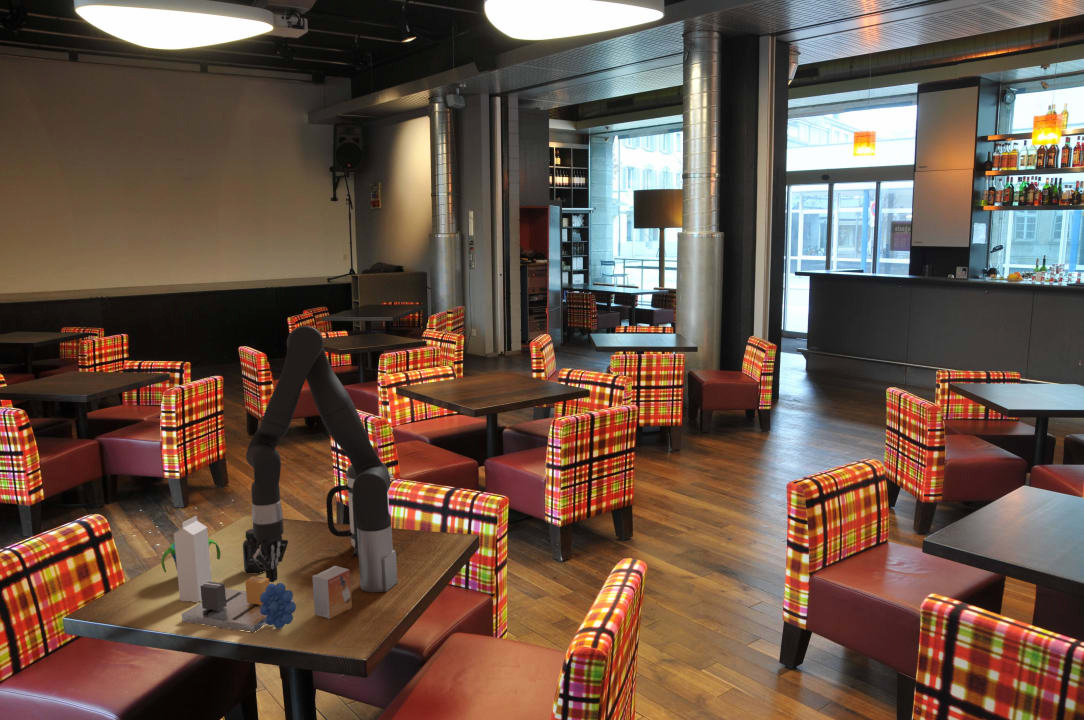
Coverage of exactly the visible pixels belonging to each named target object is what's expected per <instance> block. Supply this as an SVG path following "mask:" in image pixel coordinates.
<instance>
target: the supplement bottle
mask: <svg viewBox="0 0 1084 720" xmlns="http://www.w3.org/2000/svg"><path fill="white" fill-rule="evenodd" d="M256 546H257V539H256V538H255V537H254V533H253V528H249V529H247V530H246V531H245V540H244V541H243V542H242V555H243V556H242V558H243V559H242V560H243V570H244V572H245V573H246V574H248V573H259V574H261V573H260V572H263V571H265V572H266V569H262V568H259V567H258V566H257V564H256V563H255V562H254V561H253V560H252V559H251V555H252V554H255V553H256V551H257V548H256ZM263 573H264V572H263Z"/></svg>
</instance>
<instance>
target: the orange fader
mask: <svg viewBox="0 0 1084 720" xmlns="http://www.w3.org/2000/svg"><path fill="white" fill-rule="evenodd" d="M269 584H270V582H269V578H266V577H261V576H254V575H252V576H250V577H249V578H247V579H246V580H245V591H246V595H247V603H252V604H259V605H263V603H261V601H260V596H261V594H262V593H263V592H266V587H267V586H268V585H269Z"/></svg>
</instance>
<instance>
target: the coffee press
mask: <svg viewBox="0 0 1084 720" xmlns="http://www.w3.org/2000/svg"><path fill="white" fill-rule="evenodd" d="M382 463H383V465H384V467H385V468H386V470H387V472H388V473H389V476H390V479H394V475H393V474H392V472H390V471H389V468H388V467H387V465H386V464H385V463H384V462H382ZM345 477H346V481H347V483H346V484H338V485H336V486H333V487H332V488H330V490H329V491H328V493H327V496H326V504H325V505H326V521H327V527H328V531H329V532H330V533H331V534H332V535H334V536H335V537H340V538H341V537H342V538H343V537H345V538H346V537H350V543H351V546H352V547H353V551H352V556H354V557H359V554H358V537H357V522H356V520H355V516H354V505H353V483H354V481H355V479H356V475H355V472H354V469H353V467H352V464H351V463H350V465H349V466H348V467H347V469H346V471H345ZM342 491H346V492H347V496H348V510H349V512H348V514H349V529H346V530H339V529H337V528H336V527H335V523H334V511H333V508H334V507H333V498H334V496H335V494H336V493H339V492H342ZM387 495H388V496H389V491H388V492H387ZM389 503H390V501H389V497H388V510H389V511H390V505H389Z"/></svg>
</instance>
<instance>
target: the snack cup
mask: <svg viewBox="0 0 1084 720" xmlns="http://www.w3.org/2000/svg"><path fill="white" fill-rule="evenodd" d="M208 543H209V547H210V545H212V544H214V545H215V550H216V559H217V560H218V561H219V560H220V559H221V549H220V546H219V545H218V543H217V542H216V541H215V540H213V539H210V538H208ZM169 554H171V556H172V559H173V561H174V564H175V569H176V570H177V563H176V552H175V541H174V542H173V543H171V544H170V546H169V547H168V549H166V550H165V551H164V552H163V554H162V557H161V567H162V569H163V572H164V573H167V570H166V566H165V559H166V557H167V556H168V555H169Z"/></svg>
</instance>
